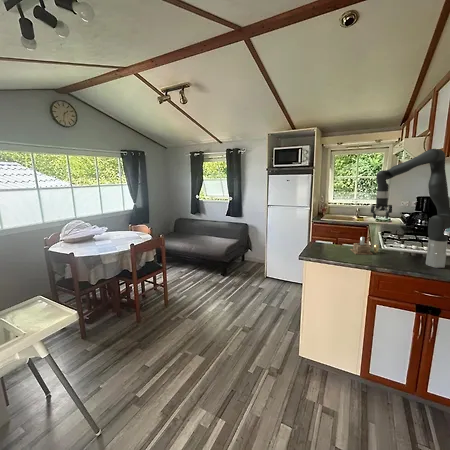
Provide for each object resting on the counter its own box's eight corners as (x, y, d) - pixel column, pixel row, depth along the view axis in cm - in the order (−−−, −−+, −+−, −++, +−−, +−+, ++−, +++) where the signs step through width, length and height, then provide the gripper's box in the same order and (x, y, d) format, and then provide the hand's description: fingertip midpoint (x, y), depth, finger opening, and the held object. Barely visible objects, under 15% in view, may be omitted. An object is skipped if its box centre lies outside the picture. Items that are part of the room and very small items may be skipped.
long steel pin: (364, 252, 194) (365, 237, 191) (360, 252, 194) (361, 237, 192) (362, 251, 197) (363, 236, 194) (358, 251, 197) (359, 236, 195)
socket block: (372, 254, 189) (373, 246, 188) (356, 254, 190) (356, 246, 189) (366, 250, 200) (366, 242, 199) (350, 249, 202) (350, 242, 201)
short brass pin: (378, 253, 192) (379, 245, 191) (374, 252, 193) (375, 245, 192) (377, 251, 195) (377, 244, 194) (372, 251, 196) (373, 244, 195)
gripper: (374, 197, 187) (373, 219, 190) (395, 197, 186) (393, 219, 188) (370, 197, 194) (368, 218, 197) (389, 196, 193) (387, 217, 196)
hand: (380, 218), depth 193 cm, fingers open, 8 cm apart
